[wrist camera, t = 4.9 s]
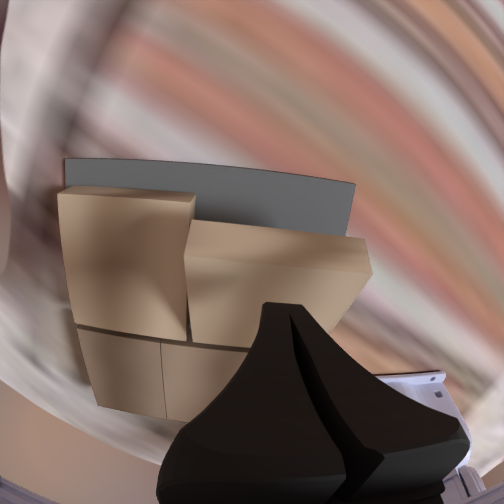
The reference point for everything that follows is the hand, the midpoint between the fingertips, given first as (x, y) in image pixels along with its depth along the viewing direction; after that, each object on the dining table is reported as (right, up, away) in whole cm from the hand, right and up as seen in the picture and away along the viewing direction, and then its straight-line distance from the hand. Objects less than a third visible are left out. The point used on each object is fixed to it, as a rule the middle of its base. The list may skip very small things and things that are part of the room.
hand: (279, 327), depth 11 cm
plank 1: (-8, +2, +7) cm, 10 cm away
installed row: (-5, -6, +10) cm, 13 cm away
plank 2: (0, +1, +5) cm, 5 cm away
